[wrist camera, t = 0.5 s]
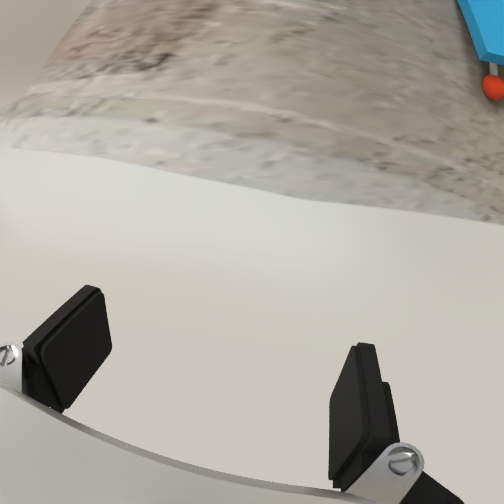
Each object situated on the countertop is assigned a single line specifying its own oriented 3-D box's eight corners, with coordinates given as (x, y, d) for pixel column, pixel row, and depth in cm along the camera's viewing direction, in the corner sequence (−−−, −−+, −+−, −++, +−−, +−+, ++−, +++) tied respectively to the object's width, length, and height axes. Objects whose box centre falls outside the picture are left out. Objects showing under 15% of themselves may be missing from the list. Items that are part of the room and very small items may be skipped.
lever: (436, -9, 27) (470, 99, 29) (449, -36, 20) (495, 81, 22) (474, 0, 25) (510, 106, 27) (491, -24, 19) (537, 91, 21)
